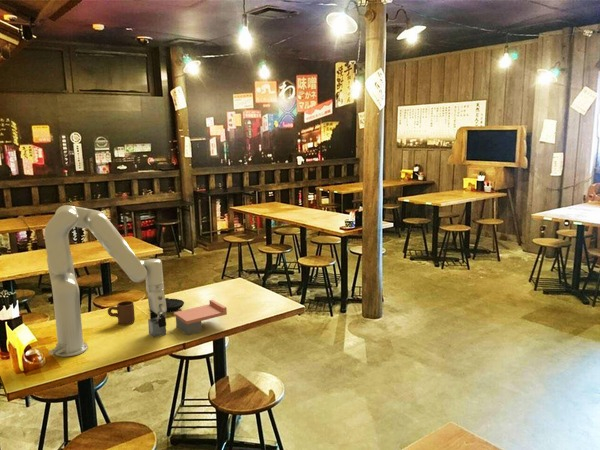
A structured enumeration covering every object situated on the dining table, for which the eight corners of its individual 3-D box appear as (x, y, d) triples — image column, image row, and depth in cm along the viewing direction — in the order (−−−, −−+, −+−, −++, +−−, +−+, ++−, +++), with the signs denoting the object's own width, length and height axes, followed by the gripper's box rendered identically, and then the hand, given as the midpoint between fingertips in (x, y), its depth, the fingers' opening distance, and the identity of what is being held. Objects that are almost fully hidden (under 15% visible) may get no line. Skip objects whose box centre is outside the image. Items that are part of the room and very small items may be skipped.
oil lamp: (171, 301, 266) (171, 292, 265) (190, 311, 252) (189, 301, 251) (145, 308, 257) (144, 299, 256) (163, 318, 242) (162, 308, 241)
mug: (111, 328, 230) (109, 309, 228) (106, 323, 236) (105, 304, 234) (137, 322, 236) (135, 304, 235) (132, 318, 243) (130, 299, 241)
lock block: (153, 337, 219) (152, 322, 218) (149, 334, 223) (148, 319, 222) (166, 334, 223) (165, 319, 222) (162, 330, 227) (161, 316, 226)
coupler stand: (187, 336, 220) (186, 317, 218) (174, 326, 231) (173, 308, 229) (227, 325, 232) (226, 307, 230) (213, 317, 243) (212, 299, 241)
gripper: (171, 289, 214) (174, 326, 218) (155, 280, 228) (159, 315, 231) (154, 293, 210) (157, 331, 213) (139, 284, 224) (143, 320, 227)
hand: (158, 323), depth 222 cm, fingers open, 9 cm apart
